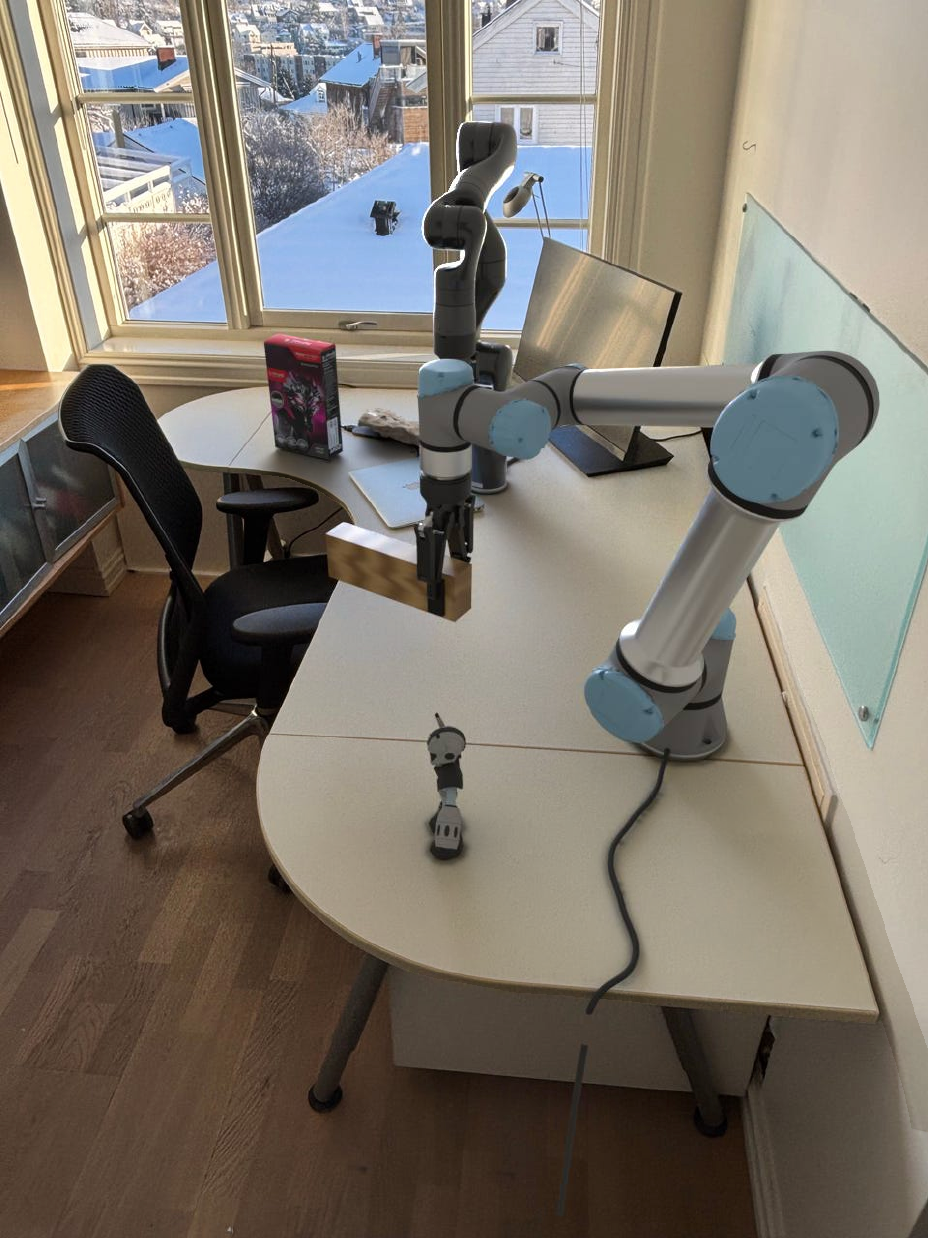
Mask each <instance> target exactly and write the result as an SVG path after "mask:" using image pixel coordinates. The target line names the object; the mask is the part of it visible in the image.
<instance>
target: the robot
mask: <svg viewBox="0 0 928 1238" xmlns="http://www.w3.org/2000/svg"><path fill="white" fill-rule="evenodd" d="M434 717H435V720H436V723H437V726H438V727H437V728H436V729H435V730H433V731H432V732H431V733H430V734H429V735H428V737H427V739H426V746H427V751H428V753H429V756H430V759H429V761H430V765H431V766H434V767H433V770H434V772H435V775H436V776H437V778H436V788H437V789H436V790H437V792H438V794H439V797H440V800H441V801H440V802H439V804H438V806H437V810H436V811H435V813H434V815H432V817H431V818H430V820H429V822H428V824H429V827H430V829H431V831H432V832H433V833H434V838H433V840H432V842H431V845H430V848H429V852H430V853H431V854H432V856H434V857H435V859H438V860H442V861H445V860H451V859H453V858H456V857H458V856H460V855H461V854H462V852H463V848H464V841H463V840H464V838H463V835H462V832H461V831H462V827H463V825H462V820H463V819H462V814H461V809H460V808H459V807H458V806H457V801H456V800H457V799H458V795H459V793H458V789H459V790H463V789H464V776H463V771H462V768H461V762H460V760H461V759H462V752H464V751H465V749H466V747H467V738H466V736H465V733H464V732H462V730H460V729H459V728H457V727H456V726H452V725H445V723H444V721H443V719H442V718H441V716H440V714H439V713H438V712H435V714H434Z"/></svg>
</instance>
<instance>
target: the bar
mask: <svg viewBox="0 0 928 1238" xmlns="http://www.w3.org/2000/svg"><path fill="white" fill-rule="evenodd" d="M325 545H326V546H325V547H326V558H327V570H328V577H329V578H331V579H335V580H337V581H340V582H343V583H345V584H348V585H351V586H354V587H356V588H359V589H362V590H365V591H366V592H367V591H368V592H370V593H373V594H374V595H379V596H381V597H384V598H387V599H389V600H392V601H395V602H398V603H400V604H403V605H406V606H409V607H412V608H414V609H417V610H420V611H423V612H425V613H428V614H431V615H433V616H436V617H439V618H442V619H445V620H447V621H450V622H453V623H456V622H457V621H459V620H460V619H461V618H462V617H463V616H464V615H466V614H467V613H468V612H469V611H470V610H472V583H473V582H472V577H473V563H471V562H470V563H467V562H464V561H461V560H458V559H455V558H452V557H450V555H449V556H448V555H446V554H445V555H444V563H443V570H442V577H441V578H442V579H445V615H444V616H443V617H440V616H437V615H434V614H432V613H429V612H428V597H427V583H426V582H423V581H420V580H418V579H417V551H416V545H415V544H412V543H409V542H406V541H403V540H400V539H396V538H393V537H390V536H387V535H384V534H382V533H378V532H376V531H372V530H369V529H367V528H366V529H365V528H363V527H360V526H357V525H353V524H350V523H347V522H344V521H343V522H341V523H340V524H338V525H336V526H335V527H333V528H331V530H329V531H327V532H325Z"/></svg>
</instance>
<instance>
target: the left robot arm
mask: <svg viewBox="0 0 928 1238" xmlns="http://www.w3.org/2000/svg"><path fill="white" fill-rule="evenodd" d="M517 136H518V135H517V132H516V129H515V127H514V126H513V125H512V124H510V123H507V122H503V121H464V122H463V123H461V124H460V126H459V129H458V132H457V138H456V160H457V162H456V163H457V172H458V174H457V176H456V177H455V179H454V180H453V182H452V183H451V185H450V188H449V189H448V191H447V192H445V193H444V194H443V195H442V196H440V197H439V198H438V199H436V200H434V201H433V202H432V203H431V205H430V206H429V207H428V208H427V210H426V212H425V213H424V216H423V219H422V226H421V232H422V236H423V239H424V241H425V243H426V244H427V245H428V246H429V247H430V248H431V249H434V250H438V251H453V252H454V251H455V252H460V260H458V261H455V262H449V263H444V264H441V265H439V266H437V268H436V269H435V270H434V276H433V278H434V279H433V280H434V281H433V283H434V287H433V290H434V295H433V296H434V305H433V314H432V315H433V316H432V321H433V323H432V325H433V330H432V331H433V334H432V335H433V353H434V355H435V356H437V357H438V360H439V359H455V360H461V361H464V362H466V363H467V364H468V365H470V366H471V367H472V370H473V377H474V382H473V384H475V385H478V386H481V387H485V388H486V387H487V388H491V390H494V391H497V392H504V391H506V390H509V389H511V388H512V377H513V369H514V368H513V367H514V354H513V350H512V348H511V346H510V345H508V344H505V343H497V342H490V341H482V340H481V333H482V332H481V331H482V326H483V322H484V320H485V318H486V316H487V315H488V312H489V311H490V309H491V307H492V306H493V305H494V303H495V302H496V300H497V299H498V297H499V296H500V294H501V293H502V292H503V291H502V290H503V289H504V287H505V284H506V280H507V256H508V255H507V253H508V251H507V245H506V243H505V242H506V241H505V240H504V238H503V236H502V234H501V232H500V230H499V228H498V227H497V224H496V223H495V222H494V220H493V218H492V217H491V215H490V213H489V212H488V210H487V207H488V204H489V202H490V199H491V198H492V196H493V195H494V194H495V192H496V191H497V190H498V189H499V188H500V187H501V186H502V185H503V184H504V182H505V181H506V180H507V179H508V178H509V177H510V176H511V174H512V173H513V170H514V168H515V166H516V163H517V157H518V156H517V155H518V137H517ZM517 460H519V458H515V457H511V458H510V459H509V460H508V456H503V455H501V454H499V453H497V452H494V451H492V450H489V449H486V448H484V447H481V446H478V445H476V444H473V443H472V468H471V470H470V471H471V473H472V477H471V492H474V493H478V494H485V495H486V494H487V495H489V494H496V493H500V492H502V491H504V490H505V489H506V488H507V468H508V465H511V464H512V463H514V462H516V461H517Z"/></svg>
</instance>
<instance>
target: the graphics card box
mask: <svg viewBox="0 0 928 1238" xmlns="http://www.w3.org/2000/svg"><path fill="white" fill-rule="evenodd" d="M336 347H337V345H336V343H335V342H326V341H321V340H314V339H309V338H304V337H299V336H295V335H294V336H293V335H288V334H283V333H277V334H275V335H272V336H270V337H268V338H266V339H265V340H264V341H263V350H264V357H265V358H264V360H265V367H266V373H267V374H266V376H267V383H268V394H269V401H270V410H271V411H270V412H271V420H272V429H273V438H274V446H275V448H277V449H282V450H286V451H290V452H295V453H299V454H302V455H303V454H304V455H308V456H311V457H315V458H320V459H324V460H330V459H332V458H334V457H336V456H338V455H339V454H341V453H342V452H344V445H343V432H342V418H341V404H340V392H339V379H338V378H339V375H338V362H337V348H336Z"/></svg>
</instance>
